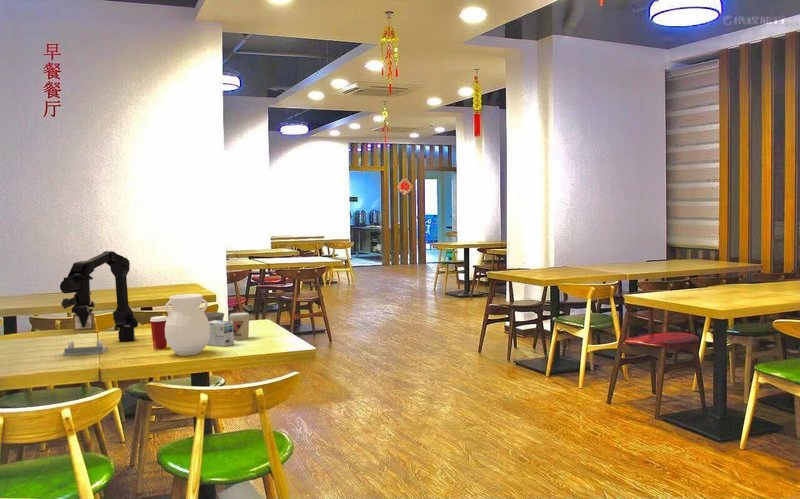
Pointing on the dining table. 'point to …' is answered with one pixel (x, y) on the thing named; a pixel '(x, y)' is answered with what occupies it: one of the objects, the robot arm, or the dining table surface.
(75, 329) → the brown box shape
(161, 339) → the paper cup
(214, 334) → the light bulb box
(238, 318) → the coffee cup
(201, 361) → the dining table surface
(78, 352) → the wall panel
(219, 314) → the bowl
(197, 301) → the white vase
